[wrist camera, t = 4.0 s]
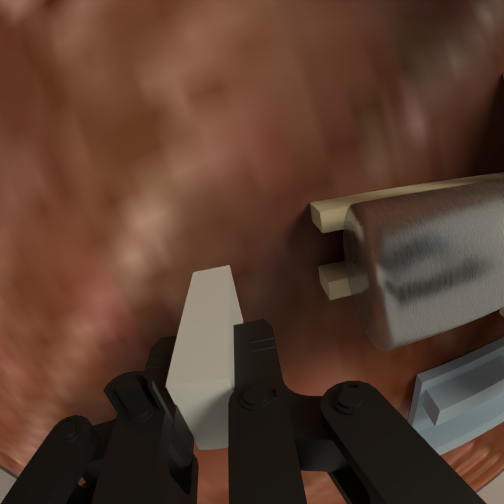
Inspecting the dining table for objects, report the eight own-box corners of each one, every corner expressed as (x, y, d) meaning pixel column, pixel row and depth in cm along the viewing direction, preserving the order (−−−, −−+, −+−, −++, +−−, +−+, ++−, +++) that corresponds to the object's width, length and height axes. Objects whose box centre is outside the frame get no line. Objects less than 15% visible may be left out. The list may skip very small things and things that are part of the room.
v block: (401, 444, 24) (414, 470, 21) (416, 374, 21) (436, 404, 17) (506, 393, 24) (522, 412, 21) (532, 321, 21) (554, 339, 17)
